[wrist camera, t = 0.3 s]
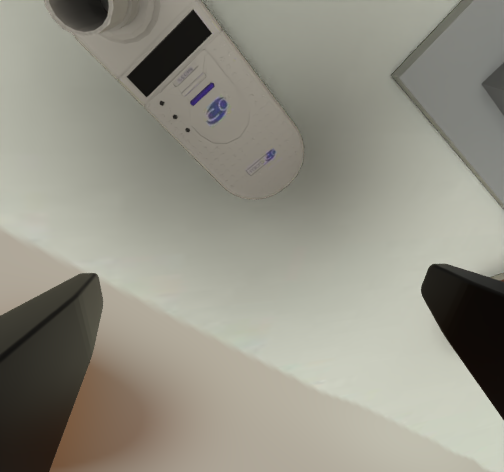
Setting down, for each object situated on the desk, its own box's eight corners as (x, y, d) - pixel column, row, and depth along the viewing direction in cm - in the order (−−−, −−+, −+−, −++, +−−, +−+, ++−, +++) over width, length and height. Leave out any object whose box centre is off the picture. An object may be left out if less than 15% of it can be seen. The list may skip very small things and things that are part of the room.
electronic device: (274, 295, 17) (-84, -19, 9) (245, 197, 25) (41, -13, 17) (375, 224, 15) (52, -209, 8) (309, 145, 24) (119, -106, 16)
